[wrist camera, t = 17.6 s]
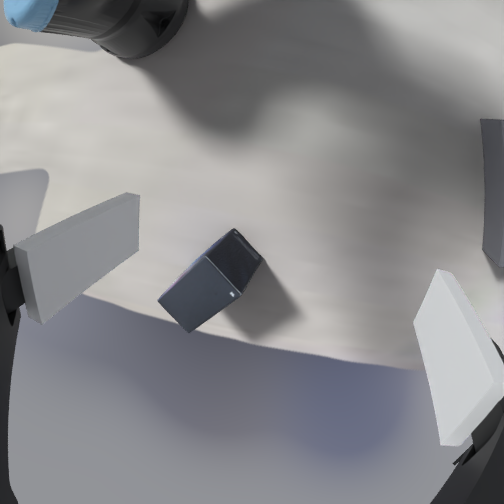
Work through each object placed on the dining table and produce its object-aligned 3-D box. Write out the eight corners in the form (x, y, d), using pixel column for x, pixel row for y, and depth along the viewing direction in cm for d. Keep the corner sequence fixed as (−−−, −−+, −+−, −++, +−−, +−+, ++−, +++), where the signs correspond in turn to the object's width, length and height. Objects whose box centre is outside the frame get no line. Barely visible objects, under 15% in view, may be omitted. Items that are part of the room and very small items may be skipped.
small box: (233, 224, 44) (204, 253, 35) (264, 258, 45) (245, 295, 36) (187, 266, 49) (154, 300, 40) (216, 296, 50) (189, 336, 40)
